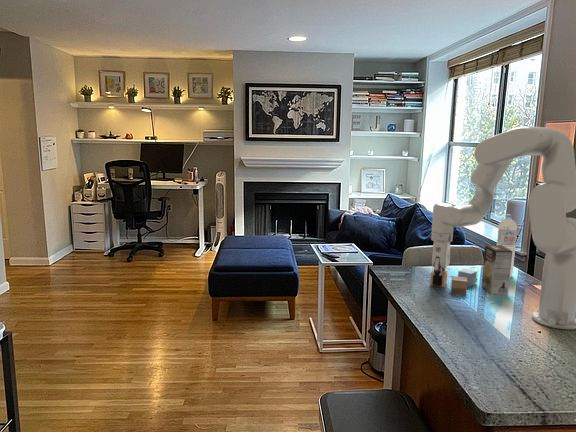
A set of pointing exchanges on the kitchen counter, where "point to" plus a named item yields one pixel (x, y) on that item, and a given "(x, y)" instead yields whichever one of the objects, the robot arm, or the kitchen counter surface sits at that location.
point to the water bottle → (507, 236)
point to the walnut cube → (459, 285)
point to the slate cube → (468, 276)
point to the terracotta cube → (444, 278)
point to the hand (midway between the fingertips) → (438, 283)
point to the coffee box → (496, 269)
